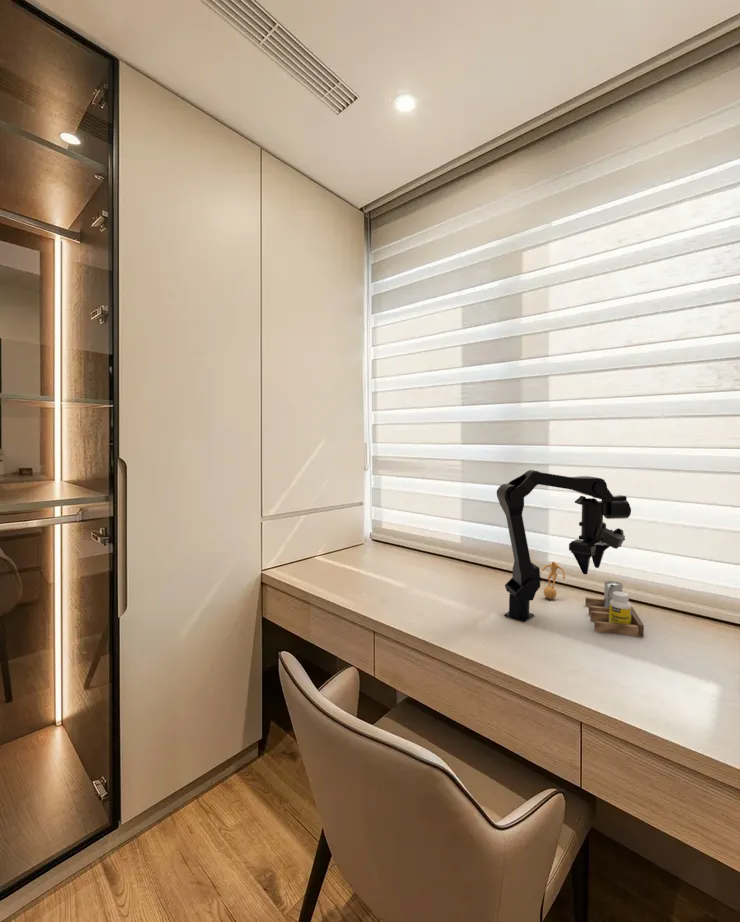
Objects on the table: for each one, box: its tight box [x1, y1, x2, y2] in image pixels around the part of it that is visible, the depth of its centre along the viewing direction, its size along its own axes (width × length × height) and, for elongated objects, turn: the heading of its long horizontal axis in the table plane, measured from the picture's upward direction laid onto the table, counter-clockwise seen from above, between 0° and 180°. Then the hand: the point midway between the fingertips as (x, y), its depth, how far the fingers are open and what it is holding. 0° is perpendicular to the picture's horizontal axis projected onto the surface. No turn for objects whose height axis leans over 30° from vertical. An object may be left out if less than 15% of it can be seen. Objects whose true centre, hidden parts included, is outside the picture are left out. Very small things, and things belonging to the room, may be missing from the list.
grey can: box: [603, 580, 623, 608], centre depth 141 cm, size 5×5×9 cm
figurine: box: [540, 561, 566, 600], centre depth 153 cm, size 8×6×12 cm
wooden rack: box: [585, 596, 645, 638], centre depth 135 cm, size 12×21×3 cm, turn 162°
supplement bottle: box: [609, 591, 632, 625], centre depth 129 cm, size 5×5×10 cm
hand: (591, 570), depth 139 cm, fingers open, 9 cm apart
